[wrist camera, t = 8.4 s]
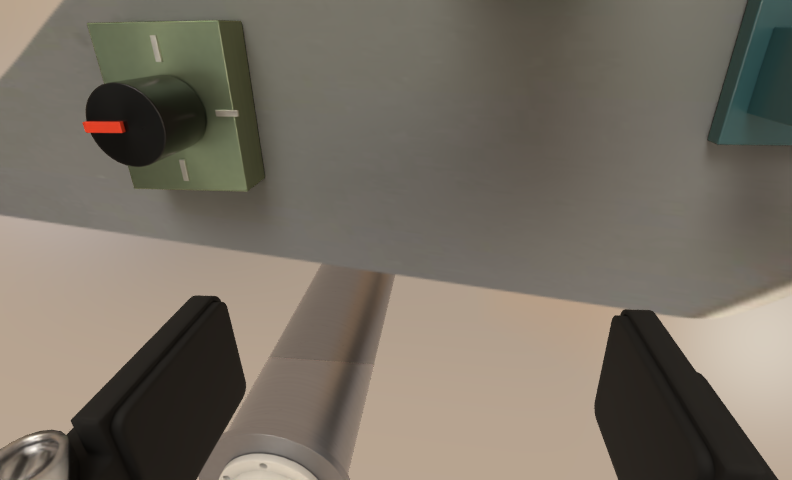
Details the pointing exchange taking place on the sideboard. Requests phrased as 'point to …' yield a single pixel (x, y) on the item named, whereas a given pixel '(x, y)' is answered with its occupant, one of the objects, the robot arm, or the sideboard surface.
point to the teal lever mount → (758, 80)
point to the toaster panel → (214, 85)
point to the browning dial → (144, 119)
